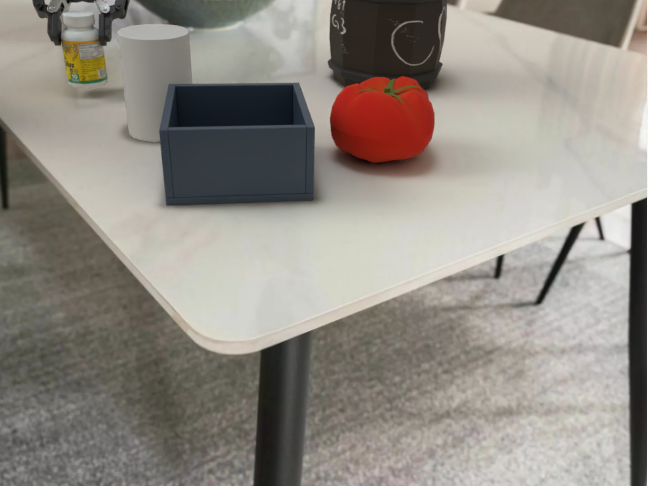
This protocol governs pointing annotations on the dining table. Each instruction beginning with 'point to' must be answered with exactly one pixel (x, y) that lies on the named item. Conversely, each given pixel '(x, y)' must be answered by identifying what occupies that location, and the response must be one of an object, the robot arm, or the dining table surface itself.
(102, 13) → the robot arm
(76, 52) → the supplement bottle
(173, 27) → the cup
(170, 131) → the tote
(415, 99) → the tomato
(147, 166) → the dining table surface
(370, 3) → the dark plant pot
